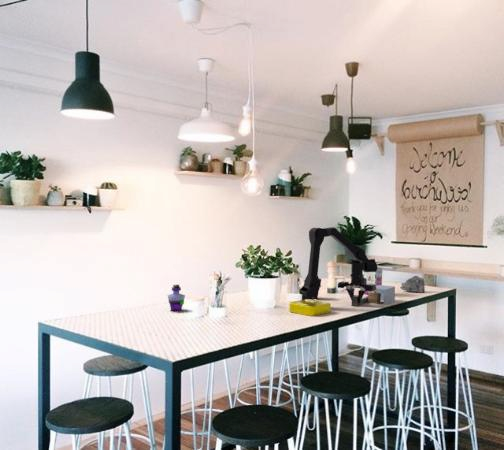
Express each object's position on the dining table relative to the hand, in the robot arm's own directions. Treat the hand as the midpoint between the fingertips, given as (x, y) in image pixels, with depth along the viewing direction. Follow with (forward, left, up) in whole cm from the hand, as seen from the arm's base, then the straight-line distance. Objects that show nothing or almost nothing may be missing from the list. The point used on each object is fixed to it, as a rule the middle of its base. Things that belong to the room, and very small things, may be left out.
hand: (356, 302), depth 268 cm
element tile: (-31, +10, -2) cm, 33 cm away
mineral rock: (+68, -9, -2) cm, 69 cm away
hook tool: (+8, -2, -1) cm, 8 cm away
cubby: (+19, -7, -1) cm, 20 cm away
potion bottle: (-67, +62, -2) cm, 91 cm away
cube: (+15, -4, -2) cm, 15 cm away
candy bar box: (+39, +6, -2) cm, 40 cm away
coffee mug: (+5, +28, -2) cm, 29 cm away
